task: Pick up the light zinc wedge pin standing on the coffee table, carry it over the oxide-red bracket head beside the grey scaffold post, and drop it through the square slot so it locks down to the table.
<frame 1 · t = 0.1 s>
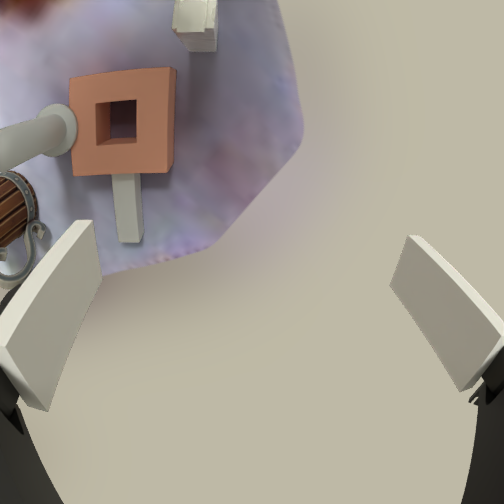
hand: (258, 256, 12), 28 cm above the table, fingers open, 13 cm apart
wedge pin: (203, 40, 29), on the table
mug: (25, 209, 36), on the table
ringlock node: (128, 118, 32), on the table
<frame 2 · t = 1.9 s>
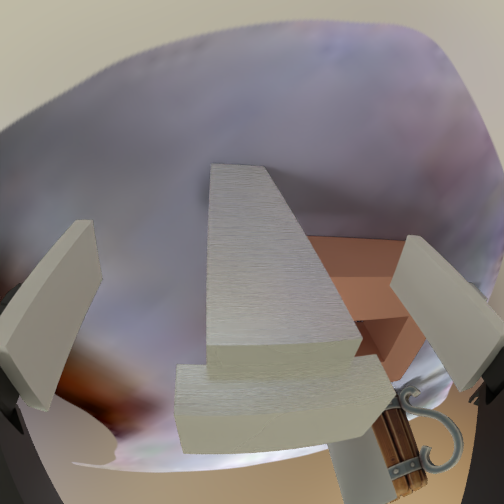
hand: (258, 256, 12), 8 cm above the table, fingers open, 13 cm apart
wedge pin: (235, 189, 18), on the table
mug: (379, 400, 36), on the table
ringlock node: (346, 301, 24), on the table
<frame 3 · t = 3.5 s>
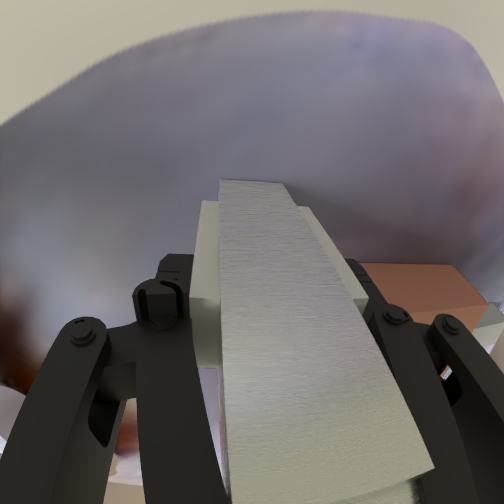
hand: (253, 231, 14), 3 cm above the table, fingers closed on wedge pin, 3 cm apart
wedge pin: (248, 210, 16), on the table, touching gripper
ringlock node: (366, 329, 21), on the table
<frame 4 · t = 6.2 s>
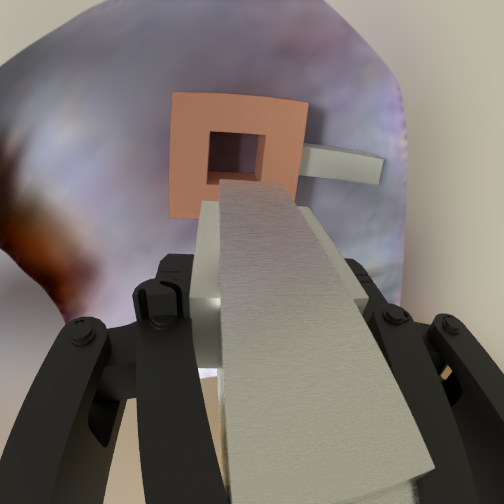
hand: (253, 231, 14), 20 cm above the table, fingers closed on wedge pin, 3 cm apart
wedge pin: (248, 209, 16), point 17 cm above the table, touching gripper
ringlock node: (233, 149, 31), on the table
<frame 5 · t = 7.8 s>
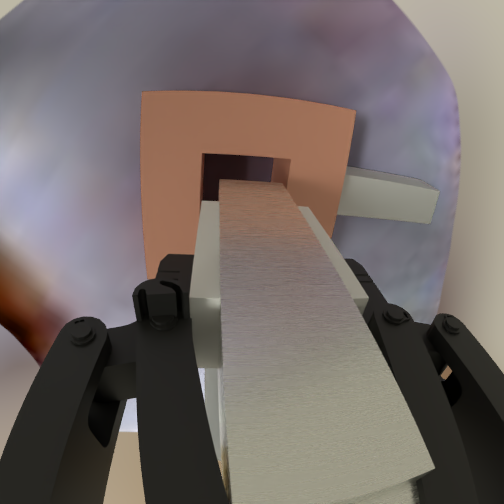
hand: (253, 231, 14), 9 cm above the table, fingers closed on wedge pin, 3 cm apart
wedge pin: (248, 210, 16), point 7 cm above the table, touching gripper
ringlock node: (237, 174, 22), on the table
when the fingers open (7 cm above the table, at t = 9.0 s): wedge pin drops 4 cm, resting in ringlock node.
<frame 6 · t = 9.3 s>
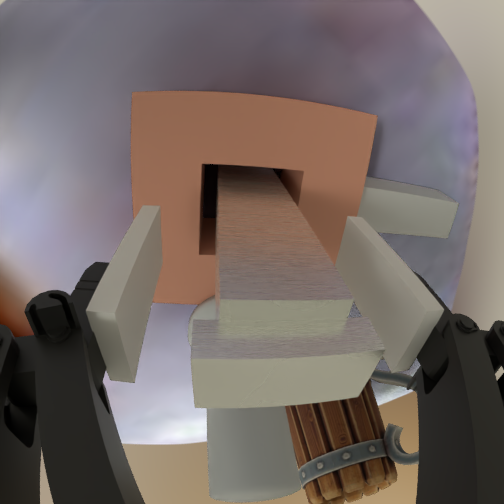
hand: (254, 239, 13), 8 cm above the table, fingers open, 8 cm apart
wedge pin: (241, 184, 20), resting in ringlock node
mug: (336, 363, 31), on the table
ringlock node: (242, 184, 20), on the table
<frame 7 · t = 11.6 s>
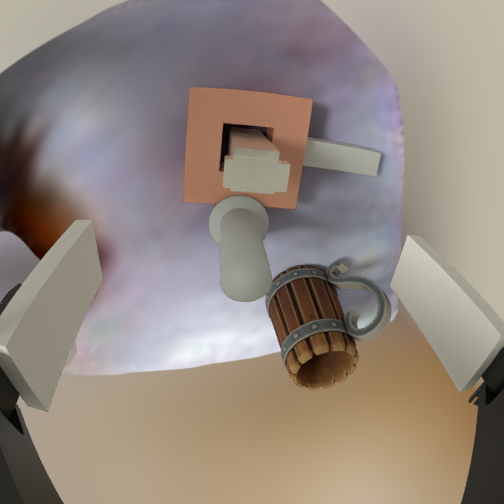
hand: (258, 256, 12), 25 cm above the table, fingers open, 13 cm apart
wedge pin: (242, 141, 33), resting in ringlock node
mug: (311, 281, 44), on the table
ringlock node: (243, 141, 33), on the table
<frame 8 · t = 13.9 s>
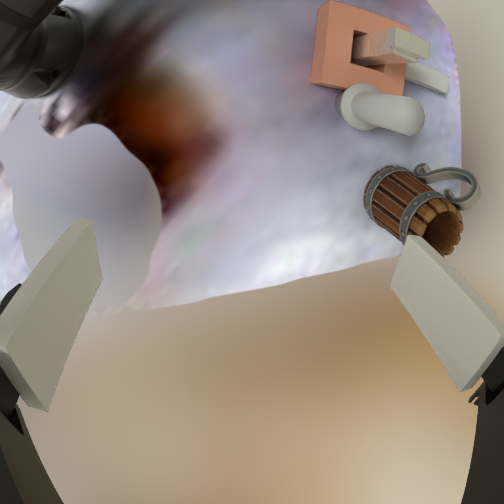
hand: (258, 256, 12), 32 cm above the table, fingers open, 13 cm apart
wedge pin: (353, 53, 34), resting in ringlock node
mug: (398, 184, 45), on the table
ringlock node: (353, 54, 34), on the table
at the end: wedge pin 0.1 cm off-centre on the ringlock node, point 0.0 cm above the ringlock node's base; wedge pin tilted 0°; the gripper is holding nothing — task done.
